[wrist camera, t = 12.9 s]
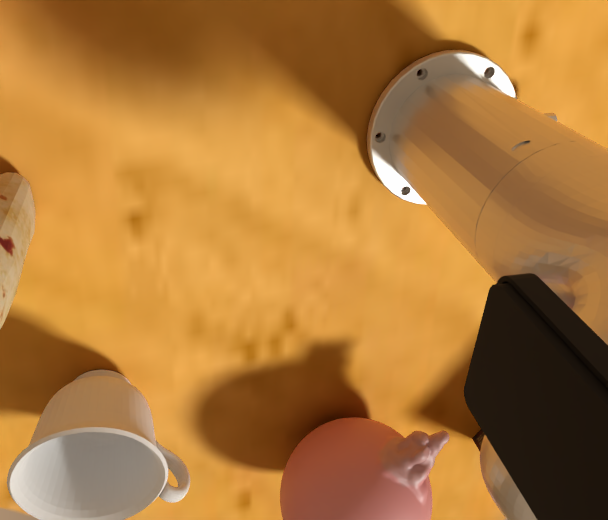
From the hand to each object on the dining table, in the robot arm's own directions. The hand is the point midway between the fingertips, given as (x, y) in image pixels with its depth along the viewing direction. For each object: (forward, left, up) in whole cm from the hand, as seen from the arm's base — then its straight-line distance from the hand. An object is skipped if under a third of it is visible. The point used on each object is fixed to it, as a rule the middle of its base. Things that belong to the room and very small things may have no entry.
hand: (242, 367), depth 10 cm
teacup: (+9, +33, -34) cm, 48 cm away
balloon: (-15, +42, -34) cm, 56 cm away
